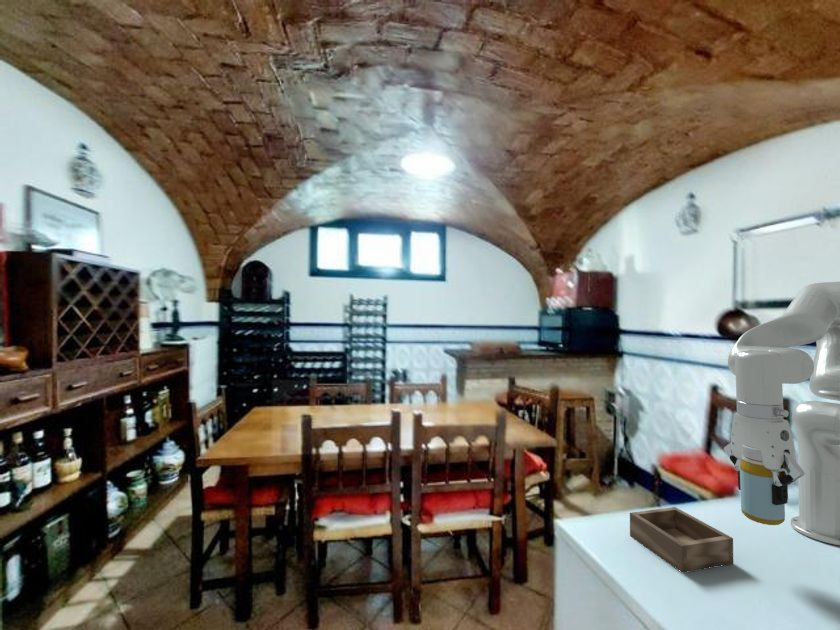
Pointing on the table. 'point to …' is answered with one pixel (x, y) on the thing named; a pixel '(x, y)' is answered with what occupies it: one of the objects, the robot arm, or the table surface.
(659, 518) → the brown box
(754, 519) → the bottle
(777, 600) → the table surface
